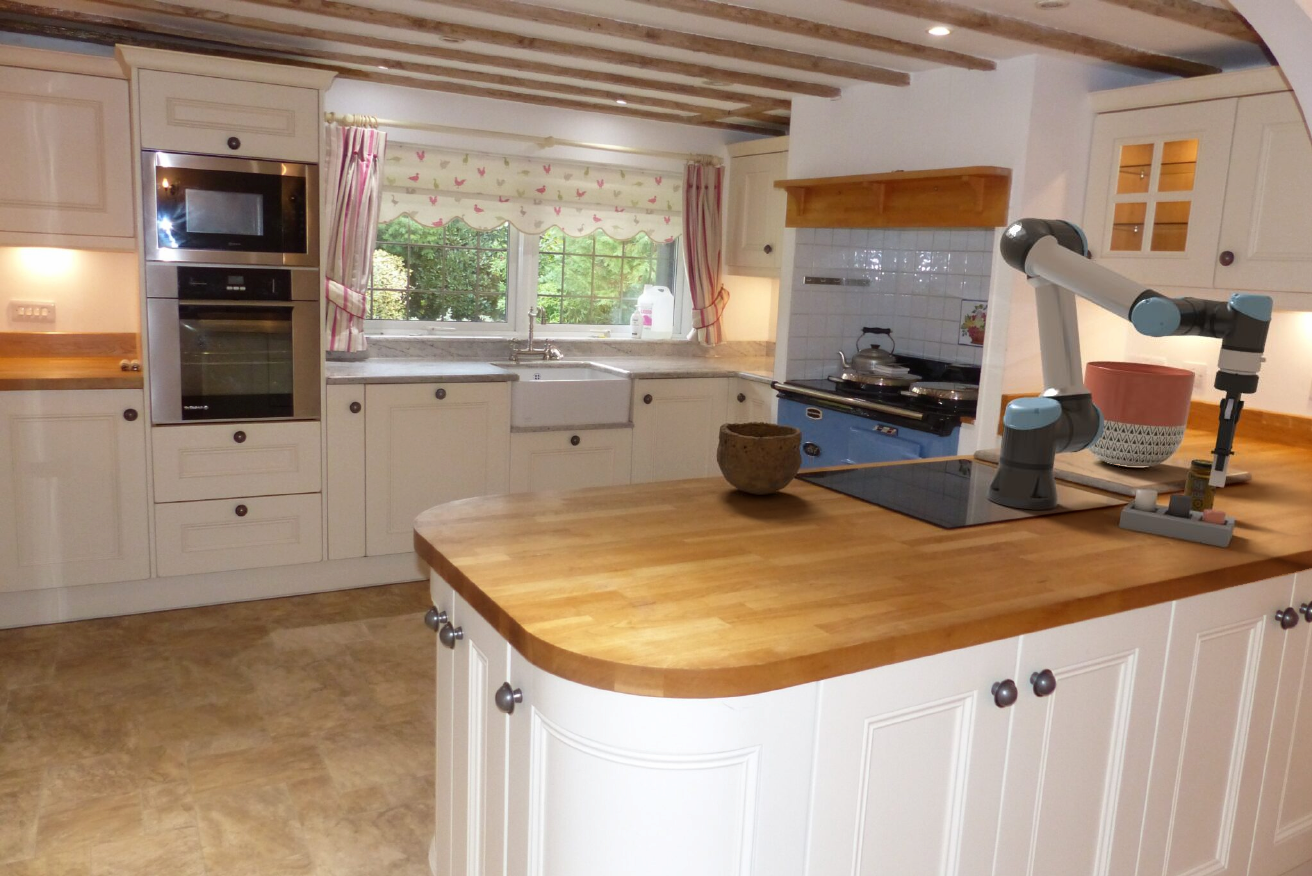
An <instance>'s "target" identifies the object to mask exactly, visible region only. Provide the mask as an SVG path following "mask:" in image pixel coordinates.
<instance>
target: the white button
mask: <svg viewBox="0 0 1312 876" xmlns="http://www.w3.org/2000/svg"><path fill="white" fill-rule="evenodd" d="M1157 498H1158V491H1157V490H1154V489H1151V488H1143V487H1141V488H1137V489H1136V493H1135V499H1134V501H1135V505H1134V508H1135V509H1138V510H1141V511H1149V512H1152V511H1155V506H1156V504H1157V500H1158V499H1157Z"/></svg>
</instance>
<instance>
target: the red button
mask: <svg viewBox="0 0 1312 876" xmlns="http://www.w3.org/2000/svg"><path fill="white" fill-rule="evenodd" d="M1226 514H1227V512H1225V511H1222V510H1219V509H1213V508H1212V509H1204V512H1203V518H1202V521H1203V522H1209V523H1214V524H1220V525H1224V521H1225V516H1227V515H1226Z"/></svg>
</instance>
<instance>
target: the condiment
mask: <svg viewBox="0 0 1312 876" xmlns="http://www.w3.org/2000/svg"><path fill="white" fill-rule="evenodd" d="M1190 463H1191V464H1190V467H1189V470H1188V472H1187V475H1186V480H1185V484H1184V485H1185V486H1184V491H1183V495H1186V496H1190V497H1192V501H1191V507H1190V510H1191V511H1197V512H1204V509H1213V507H1214V502H1215V495H1216V489H1217V486H1212V485H1209V480H1210V474H1211V469H1212V464H1213V461H1211V460H1207V459H1192V460H1191V462H1190Z"/></svg>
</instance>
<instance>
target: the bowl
mask: <svg viewBox="0 0 1312 876" xmlns="http://www.w3.org/2000/svg"><path fill="white" fill-rule="evenodd" d="M802 437H803V433H802V430H801V428H798V427H793V426H790V425H782V424H781V425H779V424H776V423H771V422H770V423H769V422H763V421H760V422H758V421H753V422H752V421H749V422H744V423H738V422H735V423H729V422H728V423H727V422H726V423H723V424H721V425H720V427H719V434H718V444H717V449H716V462H717V464H718V467H719V470H720V472H721V474H722V475H723V477H724V479H725V480H726V482H728V483H729V484H730V485H731V486H733V487H734V488H736V489H738V490H739V491H742V492H745V493H747V494H753V495H756V496H757V495H759V496H760V495H762V496H763V495H768V494H772V493H776V492H778V491H781V490H783V489H784V488H786V487H787V486H788V485H790V483H791V482H792V481H793V479H794V478H795V476H796V475H797V474H798V472H799V470H800V468H801V467H802V466H801V465H802V463H803V462H802V454H801V450H800V447H801V445H802Z"/></svg>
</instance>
